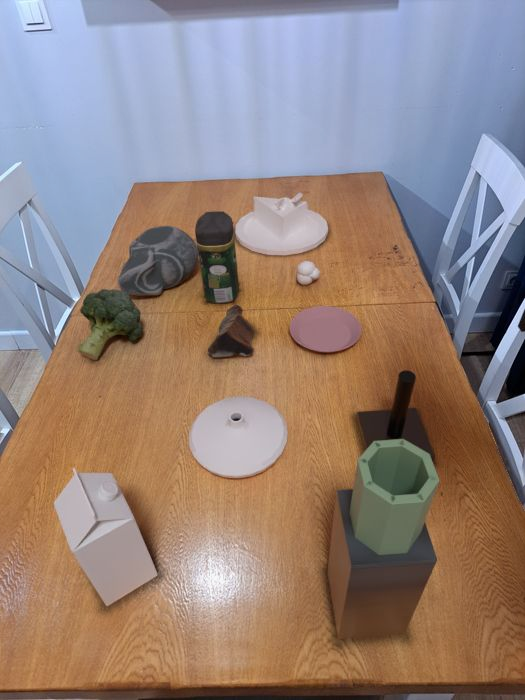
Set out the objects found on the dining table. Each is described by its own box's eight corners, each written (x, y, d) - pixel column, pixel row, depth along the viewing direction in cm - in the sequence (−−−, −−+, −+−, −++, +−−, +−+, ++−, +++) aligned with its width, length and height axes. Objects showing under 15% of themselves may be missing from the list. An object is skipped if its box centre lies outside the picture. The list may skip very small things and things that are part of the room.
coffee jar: (206, 281, 115) (196, 208, 103) (240, 280, 115) (233, 206, 103) (202, 306, 108) (191, 230, 96) (238, 305, 108) (231, 229, 95)
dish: (345, 225, 133) (348, 184, 126) (291, 265, 119) (291, 223, 111) (273, 202, 145) (272, 164, 137) (216, 237, 131) (212, 197, 123)
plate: (275, 336, 99) (274, 329, 98) (319, 305, 107) (319, 297, 105) (330, 369, 92) (331, 361, 90) (374, 332, 99) (375, 325, 98)
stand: (404, 634, 58) (437, 559, 45) (337, 639, 58) (351, 566, 45) (387, 567, 64) (412, 484, 51) (327, 572, 64) (336, 489, 51)
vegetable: (54, 340, 98) (95, 279, 102) (109, 373, 103) (147, 314, 107) (60, 338, 87) (106, 270, 91) (122, 375, 92) (163, 309, 96)
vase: (296, 416, 84) (296, 388, 79) (275, 496, 72) (274, 468, 68) (209, 401, 87) (204, 373, 82) (176, 476, 76) (168, 448, 71)
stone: (200, 345, 92) (217, 298, 103) (210, 367, 96) (225, 319, 107) (245, 341, 90) (258, 293, 101) (253, 363, 94) (264, 314, 104)
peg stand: (433, 462, 76) (454, 399, 66) (369, 467, 76) (380, 404, 66) (414, 413, 83) (431, 350, 73) (356, 417, 83) (365, 354, 73)
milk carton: (107, 608, 62) (59, 534, 49) (89, 561, 66) (41, 483, 54) (158, 576, 64) (126, 498, 52) (137, 533, 69) (103, 452, 56)
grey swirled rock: (114, 305, 111) (152, 258, 125) (179, 311, 107) (210, 262, 121) (98, 262, 103) (140, 217, 118) (167, 267, 99) (202, 220, 113)
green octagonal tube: (426, 551, 46) (447, 500, 40) (358, 556, 46) (369, 505, 39) (407, 491, 50) (423, 437, 44) (345, 495, 50) (353, 442, 44)
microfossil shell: (295, 277, 115) (295, 257, 111) (318, 276, 115) (319, 256, 111) (297, 288, 112) (297, 268, 108) (320, 287, 112) (321, 266, 108)
